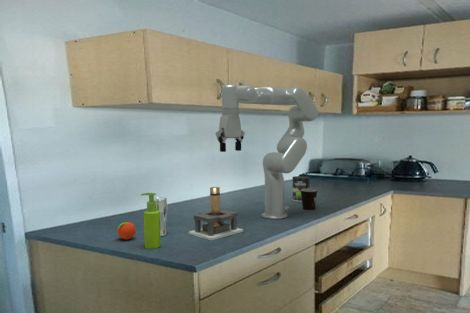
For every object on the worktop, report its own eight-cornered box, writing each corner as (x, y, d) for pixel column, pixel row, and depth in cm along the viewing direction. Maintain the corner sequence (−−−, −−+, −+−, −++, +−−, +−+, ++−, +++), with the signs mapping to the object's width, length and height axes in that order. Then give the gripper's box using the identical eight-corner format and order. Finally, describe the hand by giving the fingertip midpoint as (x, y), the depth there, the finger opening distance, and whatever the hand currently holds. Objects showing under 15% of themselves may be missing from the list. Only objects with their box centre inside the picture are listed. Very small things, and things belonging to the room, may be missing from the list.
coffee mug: (309, 206, 213) (309, 188, 213) (320, 209, 206) (320, 190, 205) (293, 209, 207) (293, 190, 206) (304, 211, 200) (304, 192, 199)
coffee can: (308, 202, 226) (308, 178, 225) (291, 201, 229) (291, 177, 228) (310, 199, 235) (310, 176, 234) (293, 198, 238) (293, 175, 237)
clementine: (123, 243, 147) (122, 225, 147) (111, 240, 151) (111, 222, 151) (139, 238, 154) (139, 221, 153) (128, 235, 158) (127, 218, 157)
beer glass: (168, 236, 157) (168, 199, 156) (151, 237, 155) (150, 200, 154) (166, 231, 163) (166, 196, 162) (150, 233, 161) (149, 197, 160)
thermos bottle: (216, 228, 164) (214, 186, 163) (223, 230, 161) (221, 187, 160) (209, 230, 161) (207, 187, 160) (216, 232, 158) (214, 188, 157)
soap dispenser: (147, 243, 147) (145, 191, 146) (163, 244, 145) (162, 192, 144) (139, 247, 142) (137, 194, 140) (155, 249, 140) (154, 194, 138)
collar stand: (220, 225, 173) (220, 208, 172) (243, 231, 163) (242, 212, 162) (188, 234, 160) (188, 214, 159) (211, 240, 150) (210, 220, 149)
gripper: (237, 113, 181) (238, 150, 182) (210, 112, 169) (210, 151, 170) (249, 113, 176) (249, 150, 177) (222, 112, 164) (222, 152, 165)
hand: (230, 151), depth 174 cm, fingers open, 9 cm apart
